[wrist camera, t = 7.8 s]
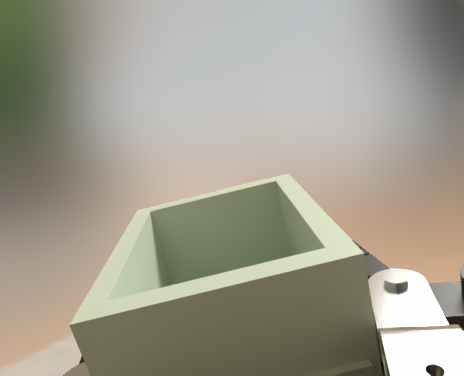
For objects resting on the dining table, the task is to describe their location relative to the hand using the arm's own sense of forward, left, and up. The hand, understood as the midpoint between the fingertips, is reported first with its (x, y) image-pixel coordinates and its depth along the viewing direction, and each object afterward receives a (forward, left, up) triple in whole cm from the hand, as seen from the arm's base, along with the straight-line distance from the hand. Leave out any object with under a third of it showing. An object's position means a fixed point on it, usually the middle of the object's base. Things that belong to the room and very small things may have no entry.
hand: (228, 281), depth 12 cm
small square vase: (0, -3, -6) cm, 7 cm away
